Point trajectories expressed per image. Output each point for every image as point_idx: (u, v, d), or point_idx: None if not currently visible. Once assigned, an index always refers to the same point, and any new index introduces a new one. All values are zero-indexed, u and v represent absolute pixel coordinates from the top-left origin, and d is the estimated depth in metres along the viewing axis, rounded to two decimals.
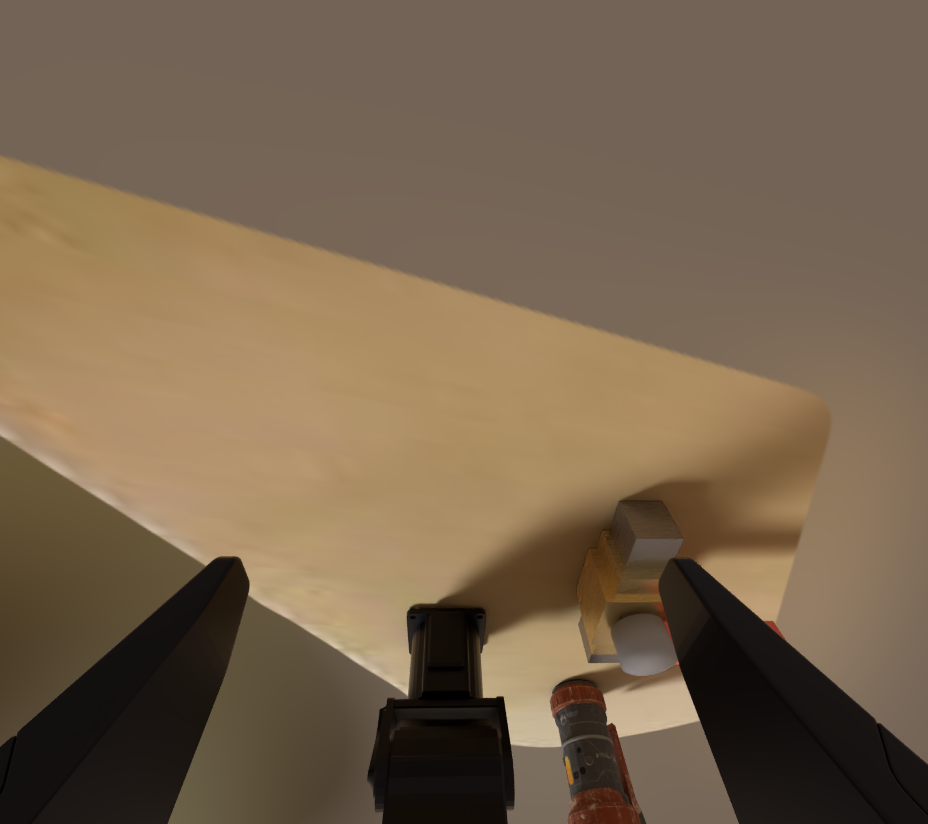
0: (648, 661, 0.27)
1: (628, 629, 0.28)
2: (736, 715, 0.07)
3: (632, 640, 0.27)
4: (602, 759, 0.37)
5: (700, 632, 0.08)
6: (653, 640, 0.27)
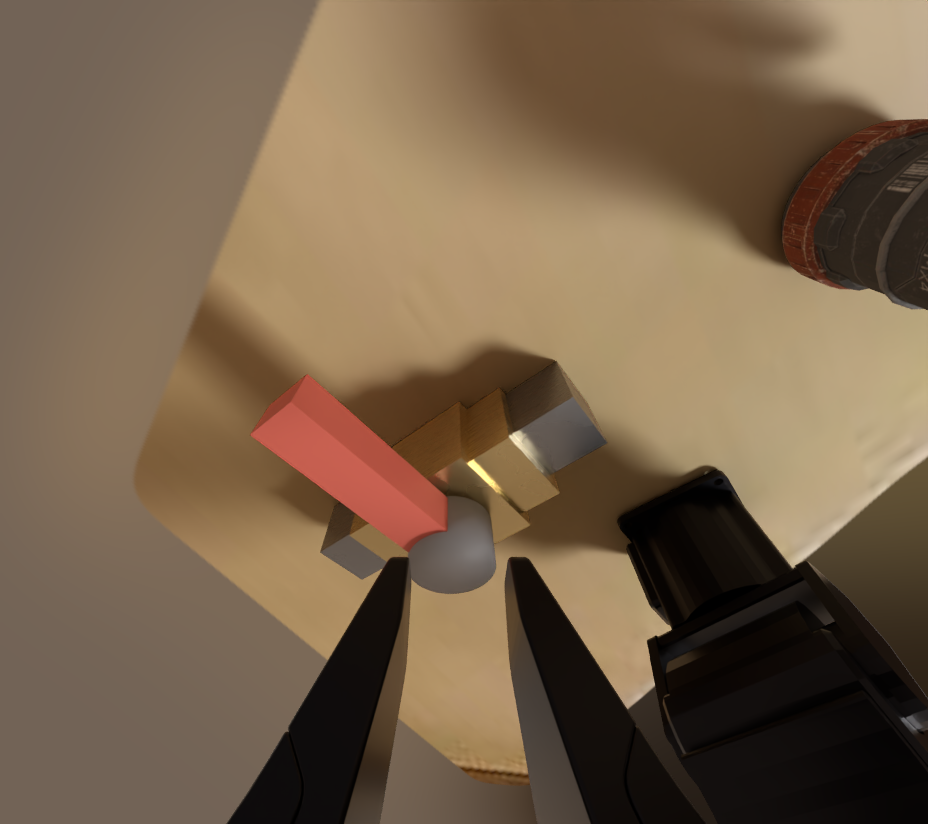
0: (450, 569, 0.17)
1: None
2: (533, 718, 0.07)
3: None
4: None
5: (516, 633, 0.08)
6: None
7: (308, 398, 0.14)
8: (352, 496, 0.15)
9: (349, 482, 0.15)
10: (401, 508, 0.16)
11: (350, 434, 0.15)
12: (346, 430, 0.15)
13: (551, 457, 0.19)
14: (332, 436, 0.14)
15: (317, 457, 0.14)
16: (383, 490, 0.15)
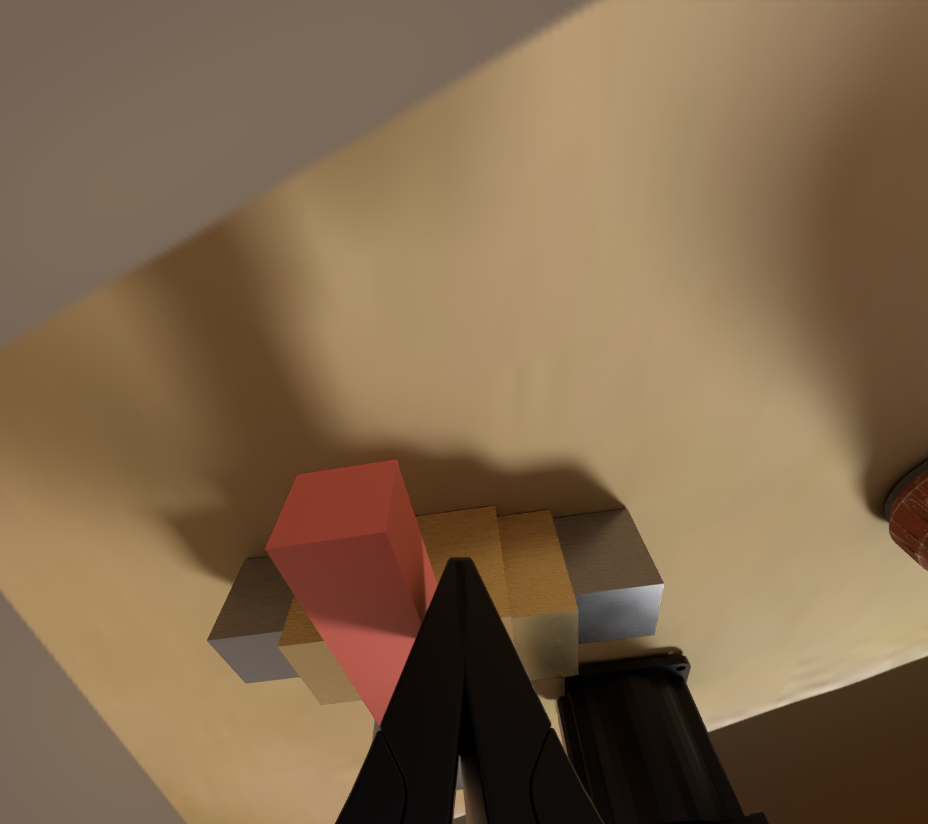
0: None
1: None
2: (461, 719, 0.07)
3: None
4: None
5: None
6: None
7: (396, 515, 0.08)
8: (367, 666, 0.09)
9: (380, 651, 0.09)
10: None
11: (419, 579, 0.09)
12: (417, 572, 0.08)
13: (588, 629, 0.15)
14: (410, 593, 0.08)
15: (358, 611, 0.08)
16: None
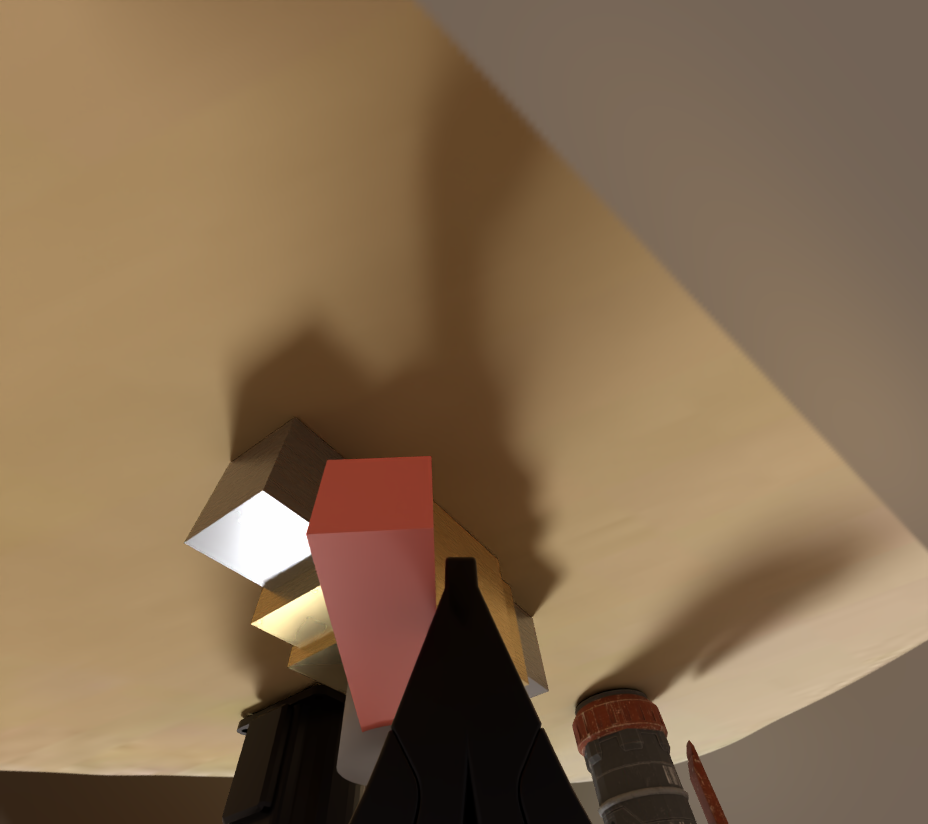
0: None
1: None
2: None
3: None
4: None
5: None
6: None
7: None
8: (367, 660, 0.09)
9: (385, 645, 0.09)
10: None
11: None
12: None
13: None
14: (435, 589, 0.08)
15: (379, 603, 0.08)
16: None
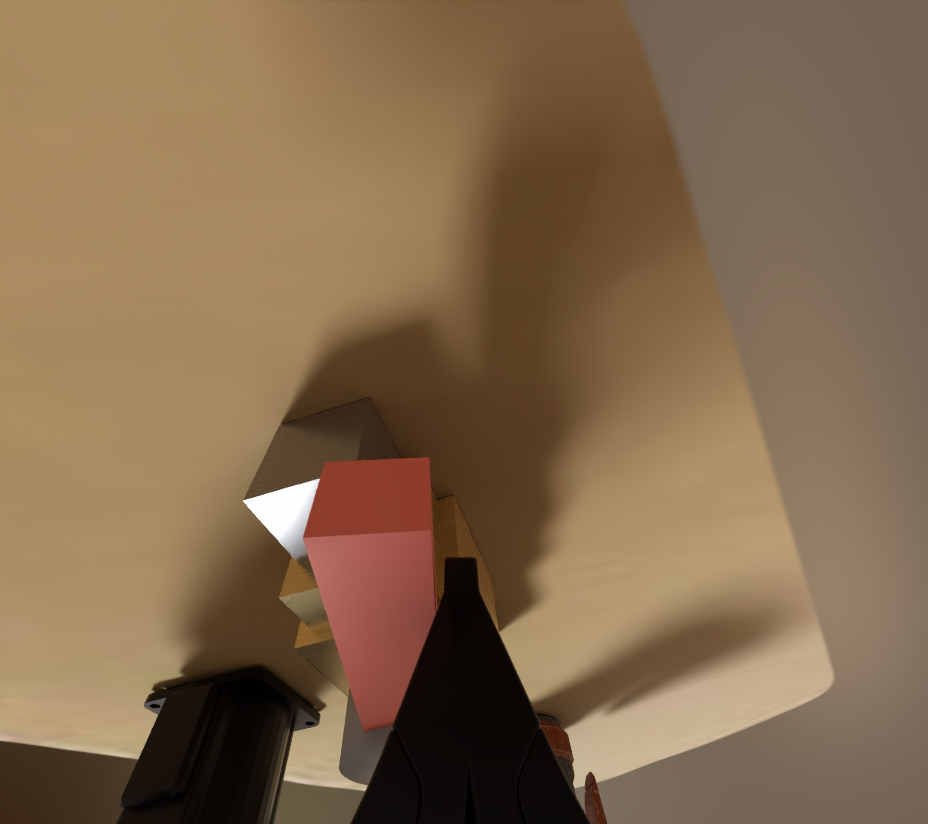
0: None
1: None
2: None
3: None
4: None
5: None
6: None
7: None
8: (368, 661, 0.09)
9: (385, 647, 0.09)
10: None
11: (434, 577, 0.09)
12: None
13: None
14: (433, 591, 0.08)
15: (378, 605, 0.08)
16: None
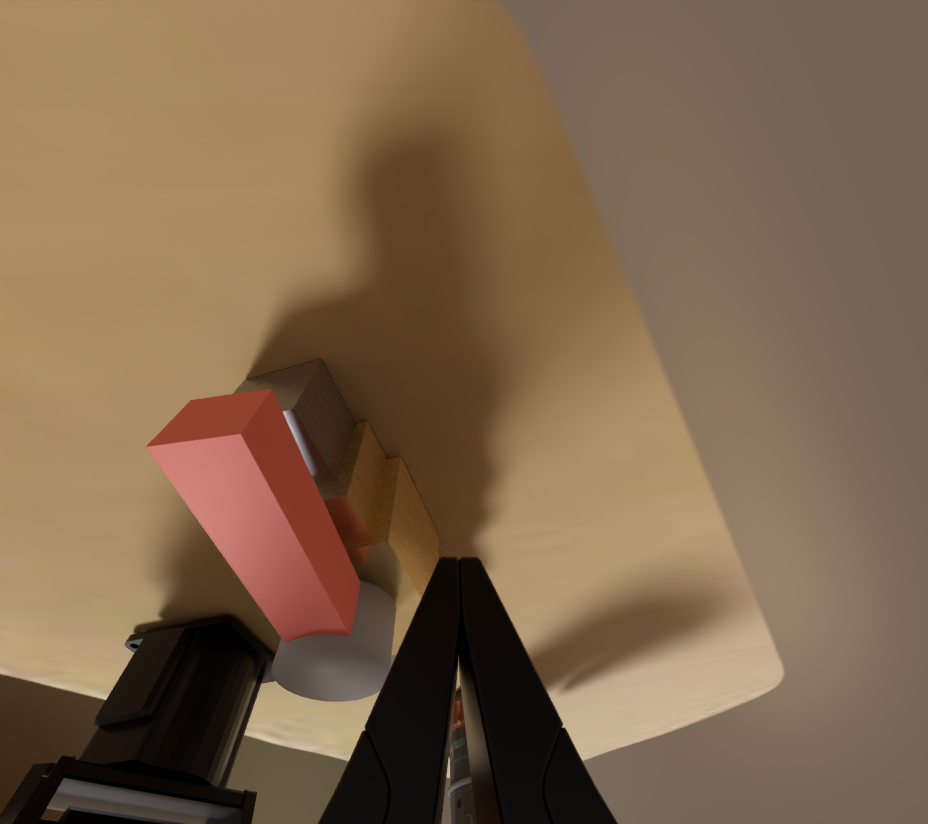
0: (328, 676, 0.13)
1: None
2: (471, 719, 0.07)
3: None
4: None
5: (461, 633, 0.08)
6: None
7: (262, 429, 0.09)
8: (253, 566, 0.11)
9: (259, 551, 0.10)
10: (309, 598, 0.12)
11: (293, 491, 0.10)
12: (290, 484, 0.10)
13: None
14: (274, 494, 0.09)
15: (234, 509, 0.10)
16: (299, 574, 0.11)
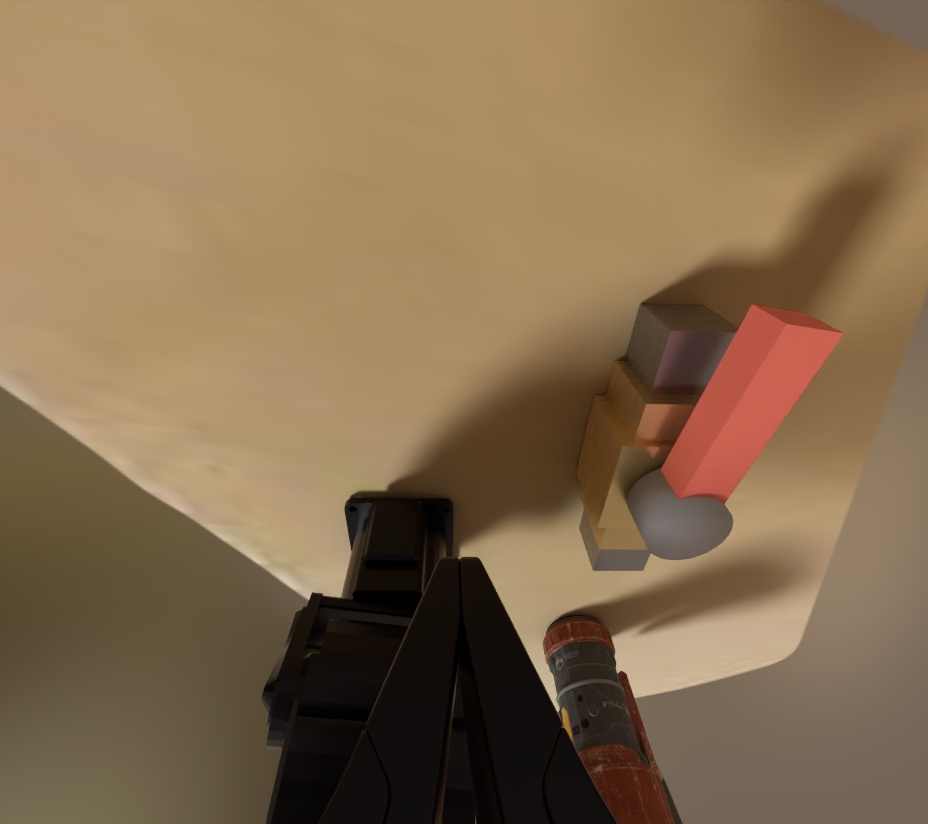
0: (684, 533, 0.18)
1: (635, 523, 0.20)
2: (471, 719, 0.07)
3: None
4: (611, 709, 0.28)
5: (461, 633, 0.08)
6: (643, 522, 0.18)
7: None
8: (736, 429, 0.15)
9: (754, 419, 0.15)
10: (737, 465, 0.16)
11: None
12: None
13: None
14: (810, 379, 0.14)
15: (778, 383, 0.14)
16: (755, 443, 0.16)
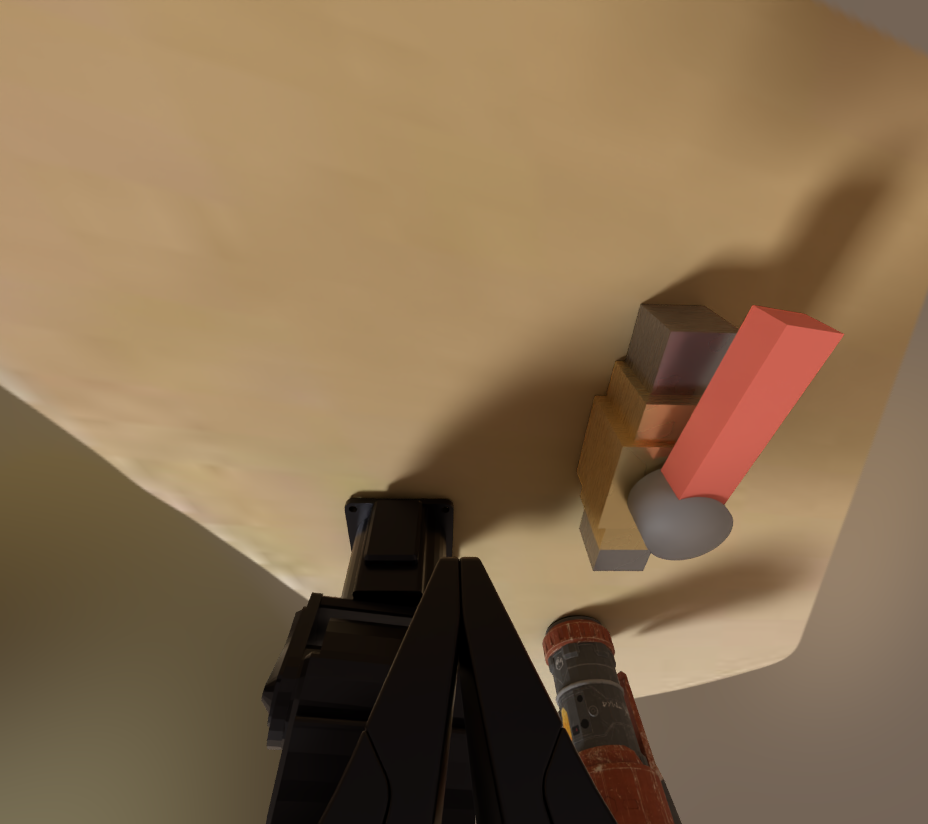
0: (684, 534, 0.18)
1: (635, 523, 0.20)
2: (471, 719, 0.07)
3: None
4: (611, 709, 0.28)
5: (461, 633, 0.08)
6: (643, 522, 0.18)
7: None
8: (736, 429, 0.15)
9: (755, 419, 0.15)
10: (737, 465, 0.16)
11: None
12: None
13: None
14: (811, 380, 0.14)
15: (778, 384, 0.14)
16: (755, 444, 0.16)
